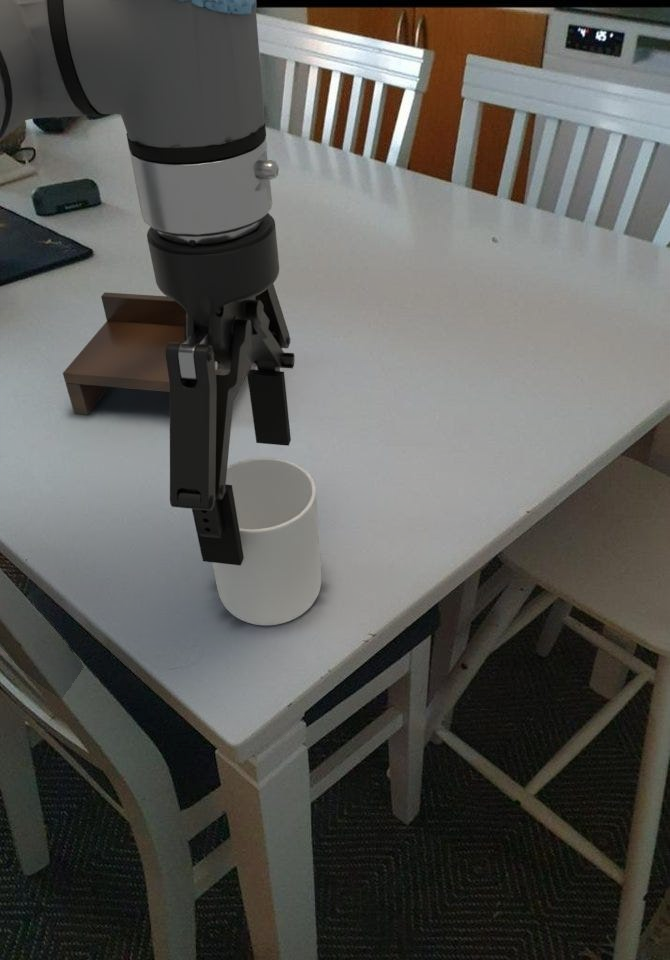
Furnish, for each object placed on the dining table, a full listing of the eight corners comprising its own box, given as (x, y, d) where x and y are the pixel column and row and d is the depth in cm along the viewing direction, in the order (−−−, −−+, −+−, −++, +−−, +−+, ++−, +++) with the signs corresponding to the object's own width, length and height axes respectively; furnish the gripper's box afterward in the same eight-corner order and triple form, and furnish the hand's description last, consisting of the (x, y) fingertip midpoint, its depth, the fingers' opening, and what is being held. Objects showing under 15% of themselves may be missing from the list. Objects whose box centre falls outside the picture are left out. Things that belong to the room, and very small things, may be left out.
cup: (255, 646, 60) (240, 548, 54) (177, 558, 68) (156, 463, 61) (342, 594, 64) (339, 497, 58) (260, 516, 72) (248, 422, 65)
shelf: (74, 413, 85) (54, 347, 80) (119, 355, 94) (104, 292, 89) (219, 427, 82) (208, 359, 77) (251, 365, 91) (244, 301, 86)
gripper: (202, 326, 37) (253, 630, 50) (318, 150, 56) (332, 405, 69) (52, 317, 38) (140, 615, 52) (214, 148, 57) (248, 399, 71)
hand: (250, 496), depth 61 cm, fingers open, 13 cm apart
